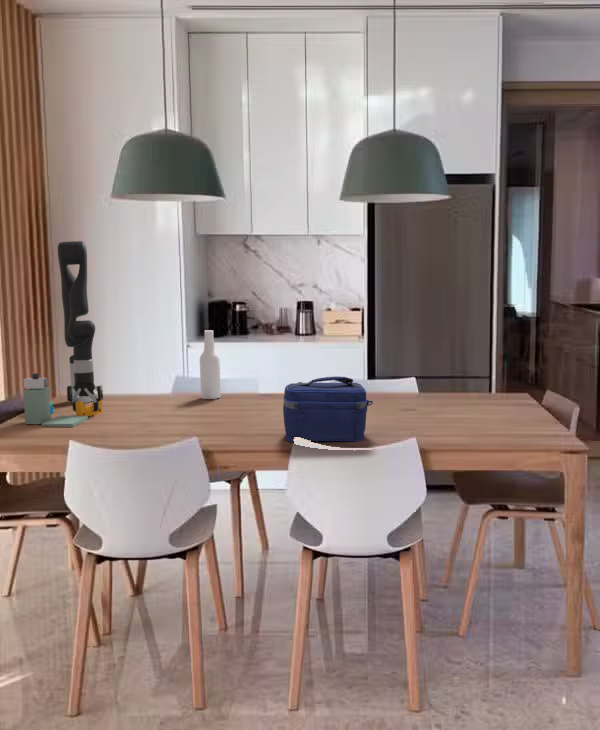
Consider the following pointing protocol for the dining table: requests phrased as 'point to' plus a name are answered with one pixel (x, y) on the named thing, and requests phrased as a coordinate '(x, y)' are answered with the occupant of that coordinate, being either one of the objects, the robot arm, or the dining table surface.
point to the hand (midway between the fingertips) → (85, 411)
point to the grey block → (35, 382)
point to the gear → (51, 408)
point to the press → (45, 410)
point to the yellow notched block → (87, 409)
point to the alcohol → (210, 369)
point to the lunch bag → (325, 410)
